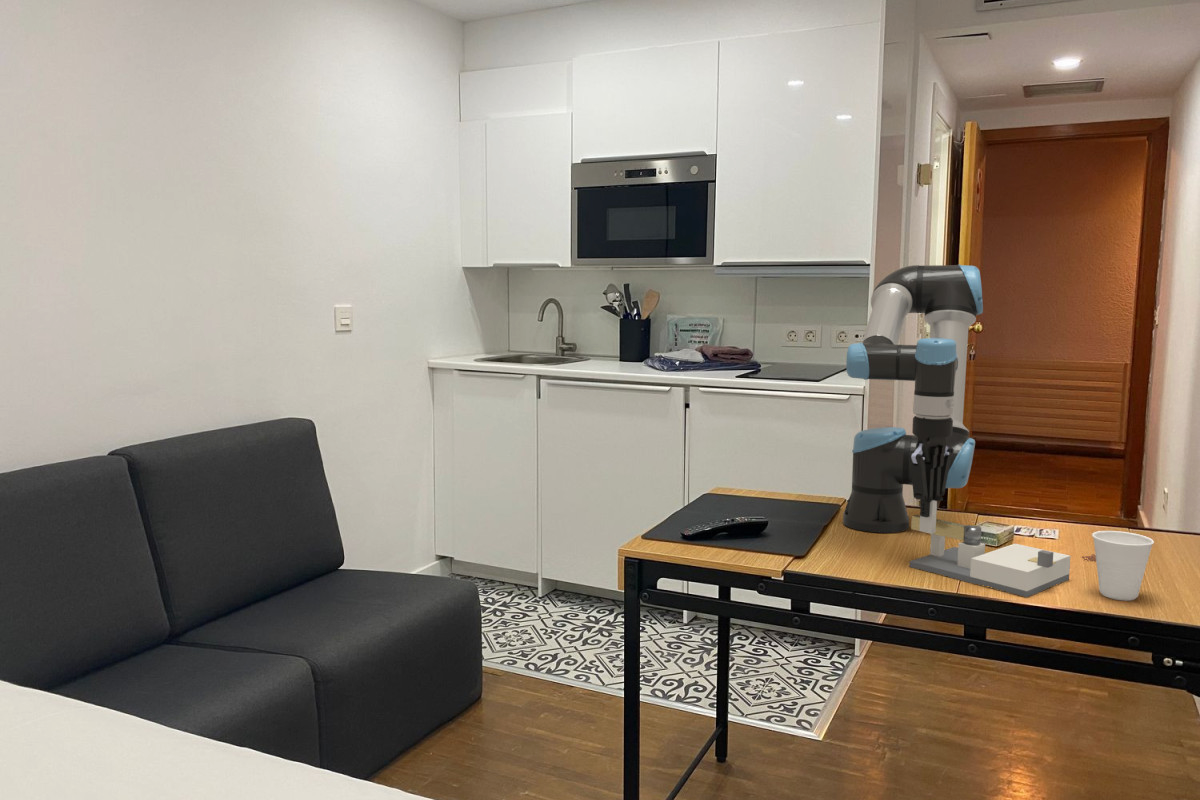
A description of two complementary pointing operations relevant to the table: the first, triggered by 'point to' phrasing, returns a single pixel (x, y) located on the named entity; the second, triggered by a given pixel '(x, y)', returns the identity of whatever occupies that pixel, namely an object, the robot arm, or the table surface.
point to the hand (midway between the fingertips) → (927, 531)
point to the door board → (964, 573)
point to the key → (1090, 557)
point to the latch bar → (953, 530)
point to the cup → (1121, 562)
